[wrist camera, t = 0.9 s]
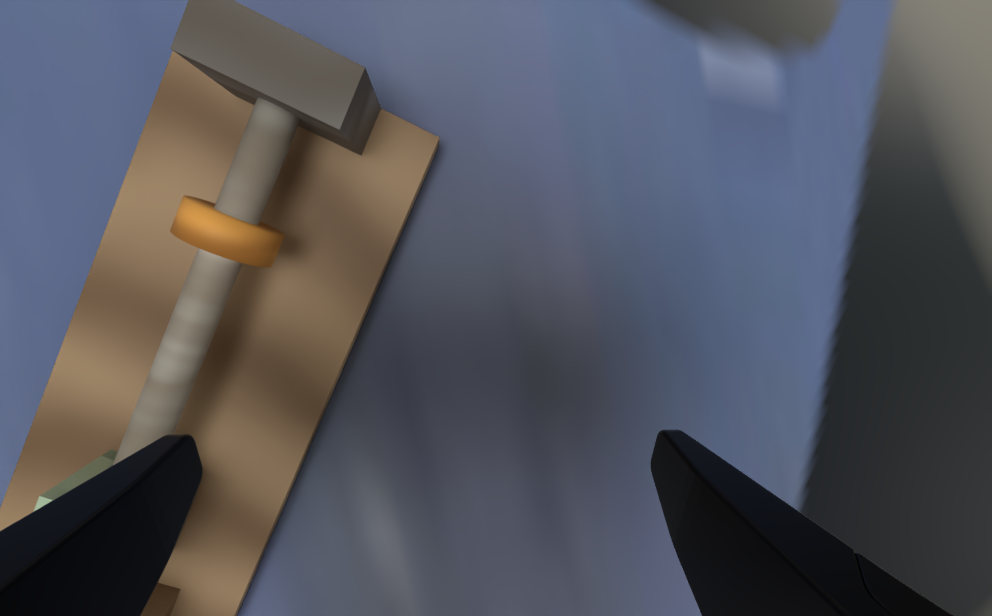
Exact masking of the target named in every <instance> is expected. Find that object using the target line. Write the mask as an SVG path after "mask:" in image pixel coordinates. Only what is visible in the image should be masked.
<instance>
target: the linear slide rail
mask: <svg viewBox="0 0 992 616" xmlns="http://www.w3.org/2000/svg"><path fill="white" fill-rule="evenodd" d="M171 49H172V50H173V52H172V54H171V57H170V60H169V62H168V65H167V67H166V70H165V73H164V75H163V78H162V81H161V83H160V86H159V89H158V91H157V94H156V97H155V99H154V102H153V105H152V107H151V110H150V113H149V115H148V118H147V121H146V123H145V126H144V129H143V131H142V134H141V136H140V139H139V142H138V144H137V147H136V150H135V152H134V155H133V158H132V160H131V163H130V166H129V168H128V171H127V174H126V176H125V179H124V182H123V184H122V187H121V190H120V192H119V195H118V198H117V200H116V203H115V205H114V208H113V211H112V213H111V216H110V219H109V221H108V224H107V227H106V229H105V232H104V235H103V237H102V240H101V243H100V245H99V248H98V251H97V253H96V256H95V259H94V261H93V264H92V267H91V269H90V272H89V274H88V277H87V280H86V282H85V285H84V288H83V290H82V293H81V296H80V298H79V301H78V304H77V306H76V309H75V312H74V314H73V317H72V320H71V322H70V325H69V328H68V330H67V333H66V336H65V338H64V341H63V343H62V346H61V349H60V351H59V354H58V357H57V359H56V362H55V365H54V367H53V370H52V373H51V375H50V378H49V381H48V383H47V386H46V389H45V391H44V394H43V397H42V399H41V402H40V405H39V407H38V410H37V412H36V415H35V418H34V420H33V423H32V426H31V428H30V431H29V434H28V436H27V439H26V442H25V444H24V447H23V450H22V452H21V455H20V458H19V460H18V463H17V466H16V468H15V471H14V474H13V476H12V479H11V481H10V484H9V487H8V489H7V492H6V495H5V497H4V500H3V503H2V505H1V508H0V531H1V530H3V529H4V528H6V527H8V526H10V525H11V524H13V523H15V522H17V521H18V520H20V519H22V518H23V517H25V516H27V515H29V514H30V513H32V512H33V511H34V509H35V506H36V504H37V501H38V498H39V496H40V495H42V494H43V493H45V492H46V491H48V490H49V489H51V488H52V487H54V486H56V485H57V484H59V483H60V482H62V481H63V480H65V479H66V478H68V477H69V476H71V475H72V474H74V473H75V472H77V471H78V470H80V469H82V468H83V467H85V466H86V465H88V464H89V463H91V462H92V461H94V460H95V459H97V458H98V457H100V456H101V455H103V454H105V453H106V452H108V451H109V450H111V449H113V450H116V451H118V452H117V455H116V458H115V460H114V463H113V465H115V464H116V463H118V462H120V461H122V460H123V459H125V458H127V457H128V456H130V455H132V454H134V453H135V452H137V451H139V450H140V449H142V448H144V447H146V446H147V445H149V444H151V443H152V442H154V441H156V440H158V439H159V438H161V437H163V436H165V435H168V434H189V435H191V436H192V437H193V438H194V440H195V442H196V446H197V449H198V453H199V456H200V460H201V463H202V467H203V474H202V479H201V482H200V485H199V487H198V490H197V492H196V495H195V497H194V500H193V502H192V505H191V507H190V510H189V512H188V515H187V517H186V520H185V522H184V525H183V527H182V530H181V532H180V535H179V537H178V540H177V542H176V545H175V547H174V550H173V552H172V554H171V557H170V559H169V561H168V563H167V565H166V567H165V569H164V571H163V573H162V575H161V577H160V579H159V581H158V583H157V585H156V587H155V589H154V591H153V592H152V594H151V596H150V598H149V600H148V602H147V604H146V606H145V608H144V610H143V612H142V614H141V615H140V616H237V614H238V612H239V609H240V607H241V605H242V602H243V600H244V598H245V595H246V593H247V591H248V589H249V586H250V584H251V582H252V579H253V577H254V575H255V572H256V570H257V568H258V565H259V563H260V561H261V558H262V556H263V554H264V551H265V549H266V547H267V544H268V542H269V540H270V537H271V535H272V533H273V530H274V528H275V526H276V523H277V521H278V519H279V516H280V514H281V512H282V509H283V507H284V505H285V502H286V500H287V498H288V495H289V493H290V491H291V488H292V486H293V484H294V481H295V479H296V477H297V474H298V472H299V470H300V467H301V465H302V463H303V460H304V458H305V456H306V453H307V451H308V449H309V446H310V444H311V442H312V439H313V437H314V435H315V432H316V430H317V428H318V426H319V423H320V421H321V419H322V416H323V414H324V412H325V409H326V407H327V405H328V402H329V400H330V398H331V395H332V393H333V391H334V388H335V386H336V384H337V381H338V379H339V377H340V374H341V372H342V370H343V367H344V365H345V363H346V360H347V358H348V356H349V353H350V351H351V349H352V346H353V344H354V342H355V339H356V337H357V335H358V332H359V330H360V328H361V325H362V323H363V321H364V318H365V316H366V314H367V311H368V309H369V307H370V304H371V302H372V300H373V297H374V295H375V293H376V290H377V288H378V286H379V283H380V281H381V279H382V276H383V274H384V272H385V269H386V267H387V265H388V262H389V260H390V258H391V256H392V253H393V251H394V249H395V246H396V244H397V242H398V239H399V237H400V235H401V232H402V230H403V228H404V225H405V223H406V221H407V218H408V216H409V214H410V211H411V209H412V207H413V204H414V202H415V200H416V197H417V195H418V193H419V190H420V188H421V186H422V183H423V181H424V179H425V176H426V174H427V172H428V169H429V167H430V165H431V162H432V160H433V158H434V155H435V153H436V151H437V148H438V146H439V137H437V136H435V135H433V134H431V133H429V132H427V131H425V130H423V129H421V128H419V127H417V126H415V125H413V124H411V123H409V122H407V121H405V120H403V119H401V118H399V117H397V116H395V115H393V114H391V113H389V112H387V111H385V110H383V109H381V107H380V104H379V102H378V99H377V97H376V94H375V92H374V89H373V87H372V84H371V81H370V79H369V76H368V74H367V71H366V69H365V67H363V66H361V65H359V64H357V63H355V62H353V61H351V60H350V59H348V58H346V57H344V56H342V55H340V54H338V53H336V52H334V51H332V50H330V49H328V48H326V47H324V46H322V45H320V44H318V43H316V42H314V41H312V40H310V39H308V38H306V37H304V36H302V35H300V34H298V33H297V32H295V31H293V30H291V29H289V28H287V27H285V26H283V25H281V24H279V23H277V22H275V21H273V20H271V19H269V18H267V17H265V16H263V15H261V14H259V13H257V12H255V11H253V10H251V9H249V8H247V7H246V6H244V5H242V4H240V3H238V2H236V1H234V0H189V1H188V4H187V6H186V9H185V12H184V14H183V17H182V20H181V22H180V25H179V28H178V30H177V33H176V36H175V38H174V41H173V44H172V46H171ZM113 465H112V466H113Z"/></svg>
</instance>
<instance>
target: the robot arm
mask: <svg viewBox="0 0 992 616" xmlns="http://www.w3.org/2000/svg"><path fill="white" fill-rule="evenodd" d="M651 472H652V476H653V479H654V482H655V486H656V489H657V493H658V496H659V499H660V503H661V506H662V510H663V513H664V516H665V520H666V523H667V527H668V530H669V533H670V536H671V539H672V543H673V545H674V548H675V551H676V553H677V556H678V558H679V561H680V563H681V566H682V568H683V570H684V573H685V575H686V578H687V580H688V583H689V585H690V587H691V590H692V592H693V595H694V597H695V600H696V602H697V604H698V607H699V609H700V612H701V614H702V616H953V615H952V614H950V613H949V612H947V611H946V610H944V609H942V608H941V607H939V606H938V605H936V604H935V603H933V602H931V601H930V600H928V599H927V598H925V597H923V596H922V595H920V594H919V593H917V592H916V591H914V590H913V589H911V588H910V587H908V586H907V585H905V584H904V583H902V582H901V581H899V580H898V579H896V578H895V577H893V576H892V575H890V574H889V573H887V572H886V571H884V570H883V569H881V568H880V567H879V566H877V565H876V564H874V563H873V562H871V561H870V560H868V559H867V558H866V557H864V556H863V555H861V554H860V553H855V552H854V550H853V549H852V548H851V547H849V546H848V545H846V544H845V543H843V542H842V541H841V540H839V539H838V538H836V537H835V536H833V535H832V534H830V533H829V532H828V531H826V530H825V529H823V528H822V527H820V526H819V525H817V524H816V523H814V522H813V521H812V520H810V519H809V518H807V517H806V516H804V515H803V514H802V513H800V512H799V511H797V510H796V509H794V508H793V507H791V506H790V505H789V504H787V503H786V502H784V501H783V500H781V499H780V498H778V497H777V496H775V495H774V494H773V493H771V492H770V491H768V490H767V489H765V488H764V487H762V486H761V485H760V484H758V483H757V482H755V481H754V480H752V479H751V478H749V477H748V476H746V475H745V474H744V473H742V472H741V471H739V470H738V469H736V468H735V467H733V466H732V465H731V464H729V463H728V462H726V461H725V460H723V459H722V458H720V457H719V456H717V455H716V454H715V453H713V452H712V451H710V450H709V449H707V448H706V447H704V446H703V445H702V444H700V443H699V442H697V441H696V440H694V439H693V438H691V437H690V436H688V435H687V434H686V433H684V432H682V431H680V430H662V431H660V432H659V433H658V435H657V439H656V442H655V446H654V450H653V454H652V458H651ZM202 474H203V467H202V463H201V460H200V456H199V453H198V449H197V446H196V442H195V440H194V438H193V437H192V436H191V435H189V434H168V435H165V436H163V437H161V438H159V439H158V440H156V441H154V442H152V443H151V444H149V445H147V446H146V447H144V448H142V449H140V450H139V451H137V452H135V453H134V454H132V455H130V456H128V457H127V458H125V459H123V460H122V461H120V462H118V463H116V464H115V465H113V466H111V467H109V468H108V469H106V470H104V471H103V472H101V473H99V474H97V475H96V476H94V477H92V478H91V479H89V480H87V481H85V482H84V483H82V484H80V485H78V486H77V487H75V488H73V489H72V490H70V491H68V492H66V493H65V494H63V495H61V496H60V497H58V498H56V499H54V500H53V501H51V502H49V503H48V504H46V505H44V506H42V507H41V508H39V509H37V510H35V511H34V512H32V513H30V514H29V515H27V516H25V517H23V518H22V519H20V520H18V521H17V522H15V523H13V524H11V525H10V526H8V527H6V528H4V529H3V530H1V531H0V616H140V615H141V614H142V612H143V610H144V608H145V606H146V604H147V602H148V600H149V598H150V596H151V594H152V592H153V591H154V589H155V587H156V585H157V583H158V581H159V579H160V577H161V575H162V573H163V571H164V569H165V567H166V565H167V563H168V561H169V559H170V557H171V554H172V552H173V550H174V547H175V545H176V542H177V540H178V537H179V535H180V532H181V530H182V527H183V525H184V522H185V520H186V517H187V515H188V512H189V510H190V507H191V505H192V502H193V500H194V497H195V495H196V492H197V490H198V487H199V485H200V482H201V479H202Z"/></svg>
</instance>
